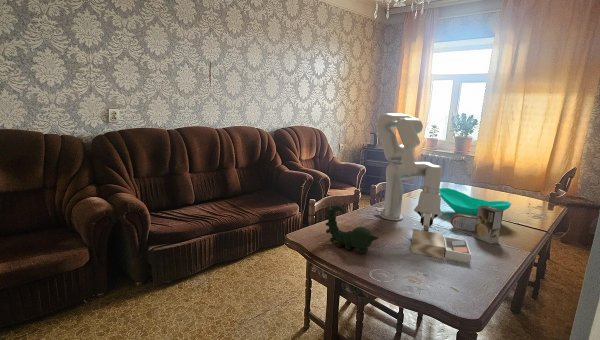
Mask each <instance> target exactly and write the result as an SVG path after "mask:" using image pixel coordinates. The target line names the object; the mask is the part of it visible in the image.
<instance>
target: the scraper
mask: <svg viewBox="0 0 600 340" xmlns="http://www.w3.org/2000/svg"><path fill="white" fill-rule="evenodd" d="M430 218H431V214H430V213H424V222H423V226H422V227H423V229H422V231H428V232H430V231H429V225H430Z"/></svg>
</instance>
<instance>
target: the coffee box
mask: <svg viewBox="0 0 600 340" xmlns="http://www.w3.org/2000/svg"><path fill="white" fill-rule="evenodd" d="M503 214H504V211H502V210H499V209H496V208H493V207H490V206H487V205H486V206H479V207H478V213H477V219H476V225H475V232H473V233H474V234H473V237H474V238H476V239H478V240H481V241H483V242H485V243H487V244H497V243H499V238H500V234H501V232H500V231H501V227H502V222H503V216H504V215H503Z"/></svg>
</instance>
